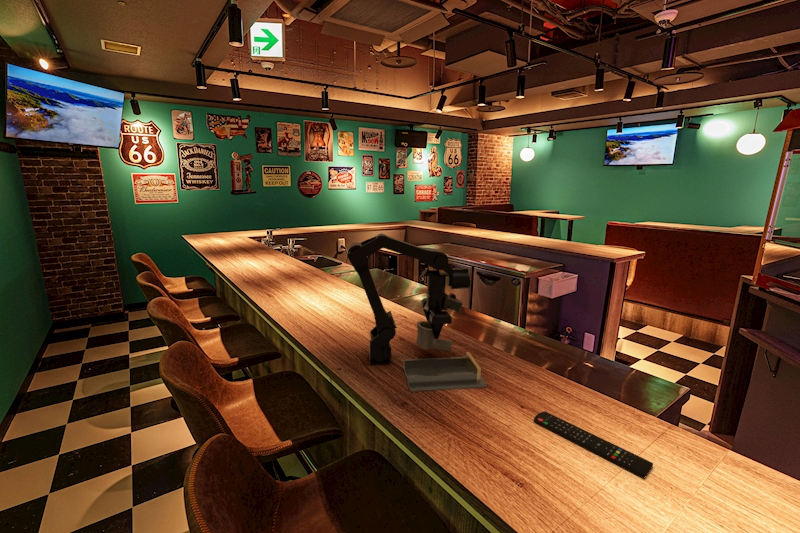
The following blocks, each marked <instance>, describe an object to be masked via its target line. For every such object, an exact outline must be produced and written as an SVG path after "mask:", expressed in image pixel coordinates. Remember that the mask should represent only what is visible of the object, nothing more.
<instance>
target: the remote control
mask: <svg viewBox="0 0 800 533" xmlns="http://www.w3.org/2000/svg"><path fill="white" fill-rule="evenodd" d="M533 423H534V424H537V425H538V426H540V427H543V428H544V429H546V430H548V431H549V432H550V431H551V433H552V432H553V433H554V434H556V435H558V436H560V437H562V438H564V439H565V440H568V441H570V442H572V443H573V442H574V443H573V444H576V445H577V446H580V447H582V448H583V449H585V450H587V451H589V452H590V453H593V454H595V455H597V456H599V457H600V458H603V459H604V460H606V461H609V462H611V463H613V464H614V465H616V466H618V465H619V467H620V466H621V467H620V468H622V467H623V468H622V469H624V468H625V469H624V470H626V471H628V470H629V471H628V472H630V473H632V474H634V475H635V476H638V477H639V476H640V478H641V477H642V478H641V479H643V478H644V477H645V476H646V477H647V475H648V474H649V473H648V472H650V471H651V470H652V468H653V466H654V462H652V461H649V460H648V459H646V458H643V457H642V456H639V455H637V454H635V453H634V452H631V451H629V450H627V449H625V448H623V447H620V446H618V445H616V444H614V443H612V442H610V441H608V440H606V439H604V438H602V437H599V436H598V435H596V434H594V433H591V432H589V431H587V430H585V429H583V428H581V427H579V426H577V425H575V424H573V423H570V422H568V421H566V420H565V419H562V418H560V417H558V416H556V415H553V414H552V413H550V412H548V411H545V410H544V411H541V412H539V413H537V414H536V415H535V416H534V418H533ZM651 467H652V468H651ZM650 469H651V470H650ZM649 470H650V471H649ZM647 473H648V474H647ZM646 477H645V478H646ZM645 478H644V479H645Z"/></svg>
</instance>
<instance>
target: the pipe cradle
mask: <svg viewBox="0 0 800 533" xmlns="http://www.w3.org/2000/svg"><path fill="white" fill-rule="evenodd" d="M402 366H403V372H404V374H405V379H406V382H407V386H408V388H409V391H410V392H421V391H424V392H425V391H440V390H441V391H442V390H457V389H458V390H461V389H477V388H488V384H487V382H486V379H484V377H483V376H482V375H481V373H482V368H481V366H480V365H479V363H477V361H476V359H475V358H474V357H473V356H472V354H471V353H470V352H469V351H466V352H465V356H455V357H454V356H449V357H432V358H431V357H428V358H425V357H423V358H408V359H406V358H405V359H403V365H402Z"/></svg>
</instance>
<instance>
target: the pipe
mask: <svg viewBox="0 0 800 533" xmlns="http://www.w3.org/2000/svg"><path fill="white" fill-rule="evenodd" d="M416 328H417V329H416V330H417V337H416V341H415V342H416V345H417V347H418V348H420V349H423V350H431V349H432V350H435V351H436V350H437V351H442V352H445V353H447V352H448V353H451V351H452V347H453V341H452V340H447V339H441V338H438V339H435V337H434V335H433V331H432V328H431V325H430V322H427V320H426V321H425V320H421V321H417V322H416Z"/></svg>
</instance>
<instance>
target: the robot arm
mask: <svg viewBox="0 0 800 533" xmlns="http://www.w3.org/2000/svg"><path fill="white" fill-rule="evenodd" d="M382 249H386V250H389V251H391V252H395V253H398V254H401V255H404V256H406V257H410V258H412V259H415V260H418V261H419V262H422V263H423V264H424V265H427V266H428V267H425V269H424V270H423V271H422V272H421V274H422V276H423V277H427V290H425V294H426V297H423V299H422V300H420V304H421V305H420V306H421V308H422V311H423V313H424V317H425V319H426V321H427V322H430V325H431V328H432V331H433V335H434V337H435V339H440V335H441V332H442V329H443V328H444V327H443V326H444V325H451V324H452V323H453V317H452V316H451V315H452V314H450V313H449V312H448V310H451V311H455V312H456V313H460V311H461V310H462V306H463V305H464V303H463V302H462V301H461V299H459V298H457V295H456V294H455V293H453V292H449V294H447V293H446V286H447V287H449V289H450V290H469V289H470V286H471V277H470V273H469V272H470V271H469V268H467V267H456V268H455V267H452V266H451V264H450V263H449V257H448V255H447V254H446V253H445V252H443V251H442V250H440V249H438V248H433V247H422V246H418V245H416V244H412V243H409V242H406V241H403V240H401V239H397V238H395V237H392V236H389V235H386V234H385V233H383V232H382V233H379V234H377V235H375V236H373V237H370V238H367V239H365V240H363V241H361V242H352V243H350V245H349V246H348V247H347V252H346V254H347V259H348V261H349V263H350V264H351V266H352V268H353V269H354V270H355V271H356V273H357V274H358V277H359V280H360V281H361V284H362V287H363V289H364V292H365V295H366V297H367V300H368V303H369V306H370V307H371V310H372V313H373V316H374V321H375V322H374V323H375V326H374V327H373V328H372V329H371V330H370V331H369V337H370V340H369V354H368V361H369V365H384V364H385V365H389V364H390V363H391V360H392V345H391V341H392V340H393V339H394V338H395V336H396V335H397V334H396V333H397V331H396V329H397V328H398V327H397V324H396V321H395V319H394V316H393V313H392V311H391V310H389V311H387V310H386V309H385V307H384V304H383V302H382V300H381V297H380V293H379V291H378V289H377V286H376V284H375V281H374V278H373V275H372V273H371V269H370V264H369V259H368V257H370V256H372V255H374V254H376V252H379V251H380V250H382ZM429 267H431V268H432V269H431V270H430V268H429ZM440 271H441V272H440ZM442 271H443V272H442Z"/></svg>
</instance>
